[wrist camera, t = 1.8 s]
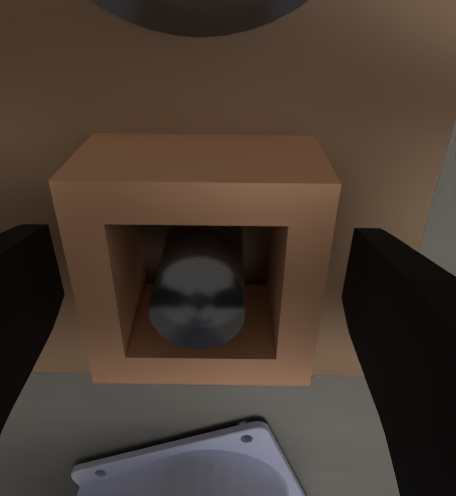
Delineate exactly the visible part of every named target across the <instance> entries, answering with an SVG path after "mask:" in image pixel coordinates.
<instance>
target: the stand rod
mask: <svg viewBox="0 0 456 496" xmlns="http://www.w3.org/2000/svg"><path fill="white" fill-rule="evenodd" d="M149 317H150V320H151V323H152V325H153V326H154V328H155V329H156V331H157V332H158V333H159V334H160V335H161V336H162V337H164V338H165V339H166V340H168V341H170V342H172V343H174V344H176V345H179V346H182V347H185V348H191V349H207V348H212V347H216V346H219V345H222V344H224V343H226V342H228V341H229V340H231V339H232V338H233V337H234V336H235V335H236V334H237V333H238V332H239V331H240V329H241V328H242V326H243V324H244V320H245V291H244V267H243V243H242V226H208V225H169V229H168V233H167V237H166V241H165V245H164V248H163V252H162V256H161V260H160V264H159V268H158V272H157V275H156V279H155V283H154V287H153V291H152V295H151V299H150V302H149Z"/></svg>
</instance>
